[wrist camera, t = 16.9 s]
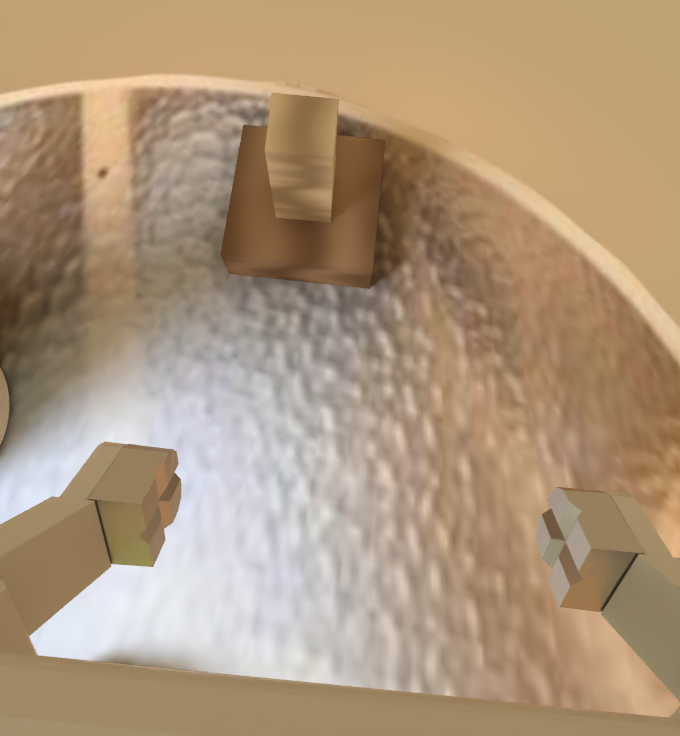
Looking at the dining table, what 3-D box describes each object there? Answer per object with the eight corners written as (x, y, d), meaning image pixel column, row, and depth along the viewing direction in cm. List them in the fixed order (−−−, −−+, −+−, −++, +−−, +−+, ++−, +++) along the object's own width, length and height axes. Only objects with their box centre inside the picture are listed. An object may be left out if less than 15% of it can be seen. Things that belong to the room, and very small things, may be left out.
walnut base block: (230, 275, 41) (220, 254, 37) (250, 156, 44) (243, 124, 40) (368, 290, 41) (372, 270, 37) (379, 170, 44) (385, 140, 40)
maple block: (275, 217, 38) (264, 150, 30) (281, 169, 39) (271, 92, 31) (330, 222, 38) (333, 157, 31) (334, 174, 39) (338, 99, 32)
